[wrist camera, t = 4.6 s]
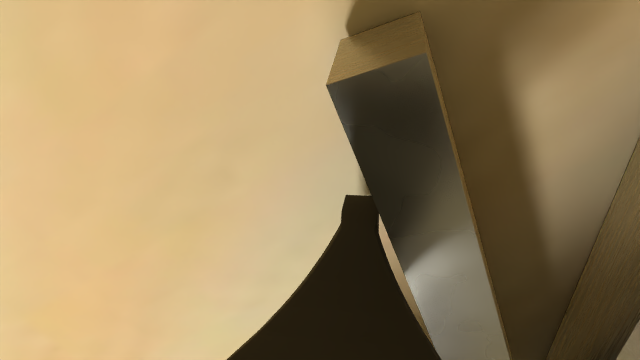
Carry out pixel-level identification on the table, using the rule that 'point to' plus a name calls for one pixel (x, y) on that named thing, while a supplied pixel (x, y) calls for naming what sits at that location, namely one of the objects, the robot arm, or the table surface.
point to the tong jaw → (418, 183)
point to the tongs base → (608, 285)
